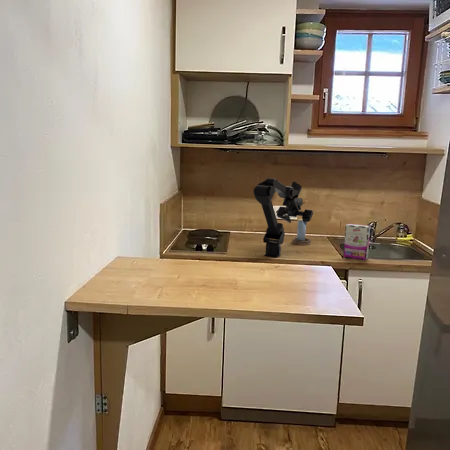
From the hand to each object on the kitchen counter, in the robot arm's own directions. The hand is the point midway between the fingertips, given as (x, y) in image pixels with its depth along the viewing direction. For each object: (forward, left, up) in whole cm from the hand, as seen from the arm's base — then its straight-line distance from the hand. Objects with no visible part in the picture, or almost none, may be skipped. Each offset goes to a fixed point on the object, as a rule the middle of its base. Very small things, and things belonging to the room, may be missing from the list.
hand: (298, 223), depth 252 cm
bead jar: (+1, +5, -11) cm, 12 cm away
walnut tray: (+1, +6, -12) cm, 13 cm away
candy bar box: (+33, -12, -12) cm, 37 cm away
